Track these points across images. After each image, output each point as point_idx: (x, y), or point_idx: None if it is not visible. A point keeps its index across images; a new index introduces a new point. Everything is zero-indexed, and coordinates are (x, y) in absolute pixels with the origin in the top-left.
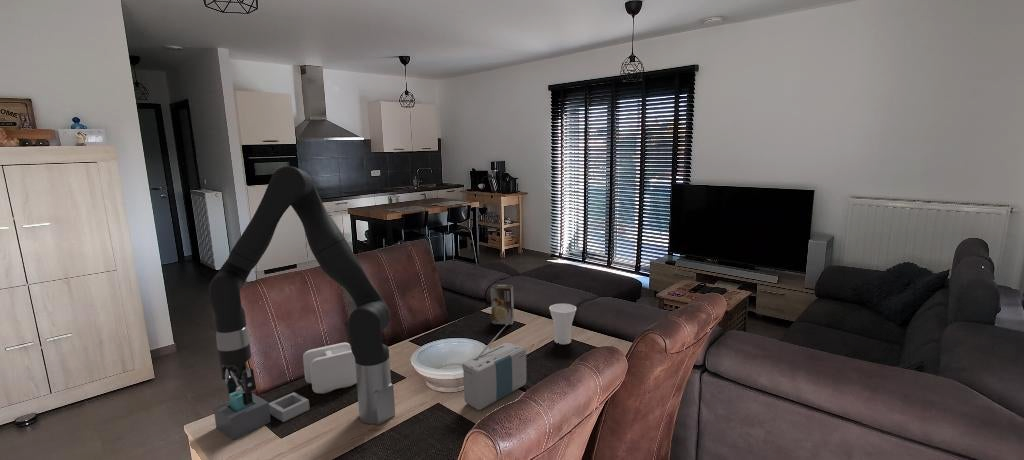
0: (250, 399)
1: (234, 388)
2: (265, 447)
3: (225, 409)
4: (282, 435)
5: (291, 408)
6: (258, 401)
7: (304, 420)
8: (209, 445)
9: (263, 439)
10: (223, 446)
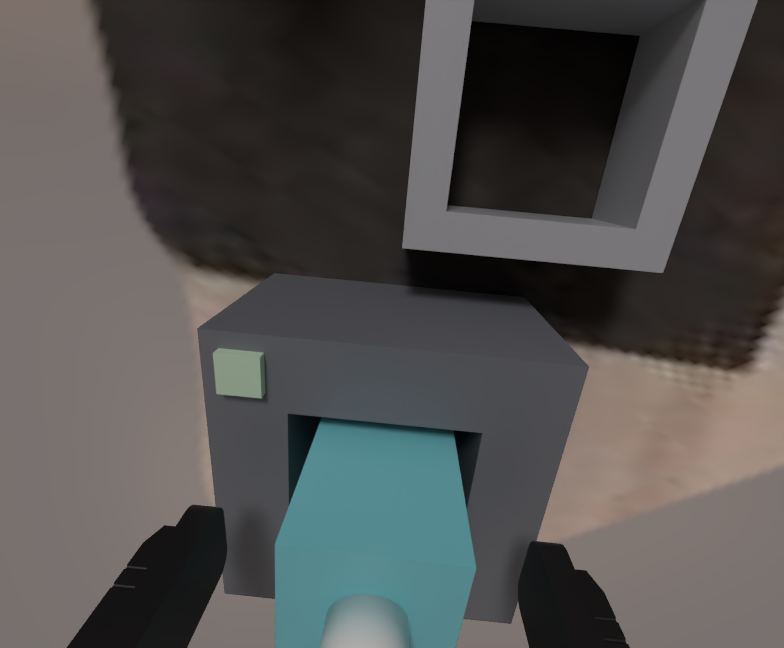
0: (597, 618)
1: (182, 594)
2: (716, 459)
3: None
4: (731, 352)
5: (689, 179)
6: (467, 401)
7: (767, 152)
8: None
9: (641, 424)
10: None
